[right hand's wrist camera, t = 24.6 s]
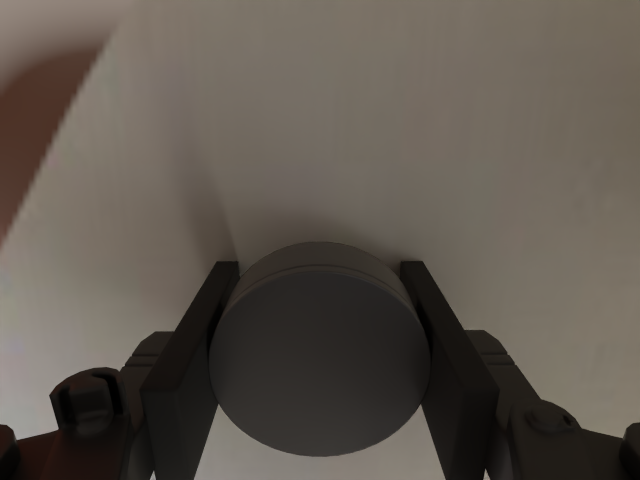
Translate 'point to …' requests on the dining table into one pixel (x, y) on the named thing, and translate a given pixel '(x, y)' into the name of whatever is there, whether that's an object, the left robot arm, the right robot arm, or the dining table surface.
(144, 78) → the dining table surface
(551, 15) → the dining table surface
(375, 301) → the lid
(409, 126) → the dining table surface
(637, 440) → the right robot arm
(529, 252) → the dining table surface
